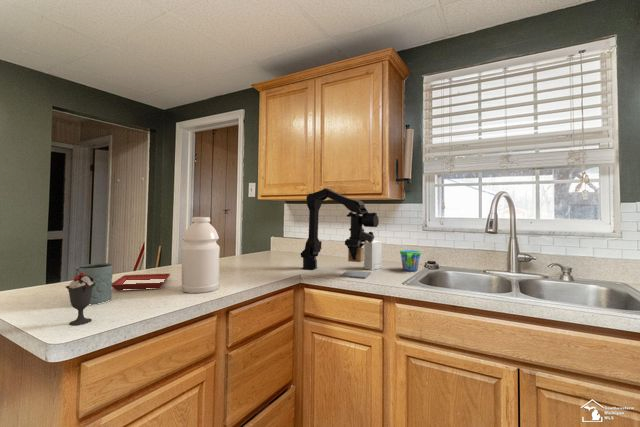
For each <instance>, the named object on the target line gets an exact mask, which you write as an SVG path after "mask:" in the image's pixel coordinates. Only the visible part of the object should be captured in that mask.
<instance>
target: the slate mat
mask: <svg viewBox="0 0 640 427" xmlns="http://www.w3.org/2000/svg"><path fill="white" fill-rule="evenodd" d="M371 274H372V271H358V270H346V271H344V272H342V273H341V274H340V275H339V276H340V277H341V278H342V277H343V278H353V279H364V280H365V279H368V278H369V276H370V275H371Z"/></svg>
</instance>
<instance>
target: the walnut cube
mask: <svg viewBox="0 0 640 427" xmlns="http://www.w3.org/2000/svg"><path fill="white" fill-rule="evenodd" d="M347 249H348V248H347ZM347 260H348V262H355V263H362V262H364V247H362V248H358V249H357V254H356V259H355V260H353V258H352V256H351V253H350V251H349V249H348V256H347Z"/></svg>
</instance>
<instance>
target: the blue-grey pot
mask: <svg viewBox="0 0 640 427" xmlns="http://www.w3.org/2000/svg"><path fill="white" fill-rule="evenodd" d="M76 269H78V271H79V272H80V273H79V272H78V271H77V270H76ZM113 271H114V264H113V263H108V262H107V263H102V262H101V263H91V264H84V265H79V266H75V273H76V272H77V276H79V275H80V274H81V273H84V274H85V275H87V276H90V277H92V278H93V279H94V280H93V283H96V284H95V286H94V287H93V288H92V294H91V300H90V303H89V304H97V305H99V304H98V303H102V302H106V301H108V300H110V299H111V300H112V291H113V290H112V283H113V282H112V280H113ZM111 300H110V301H111ZM106 303H107V302H106ZM102 304H103V303H102Z"/></svg>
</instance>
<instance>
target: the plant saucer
mask: <svg viewBox="0 0 640 427" xmlns="http://www.w3.org/2000/svg"><path fill="white" fill-rule="evenodd" d="M170 276H171V273H151V274H150V273H149V274H145V273H144V274H124V275H122V276H121V277H119V278H117V280H115V281H113V282H112V286H111V288H113V289H114V290H116V291H117V290H123V289H146V288H160V287H163V285H164V284H165V282H166V281H167V280H168V279H169V277H170ZM150 279H165V280H164V282H160V283H136V284H123V283H124V282H125V281H126V280H150ZM160 289H161V288H160ZM146 290H147V289H146Z"/></svg>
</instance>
